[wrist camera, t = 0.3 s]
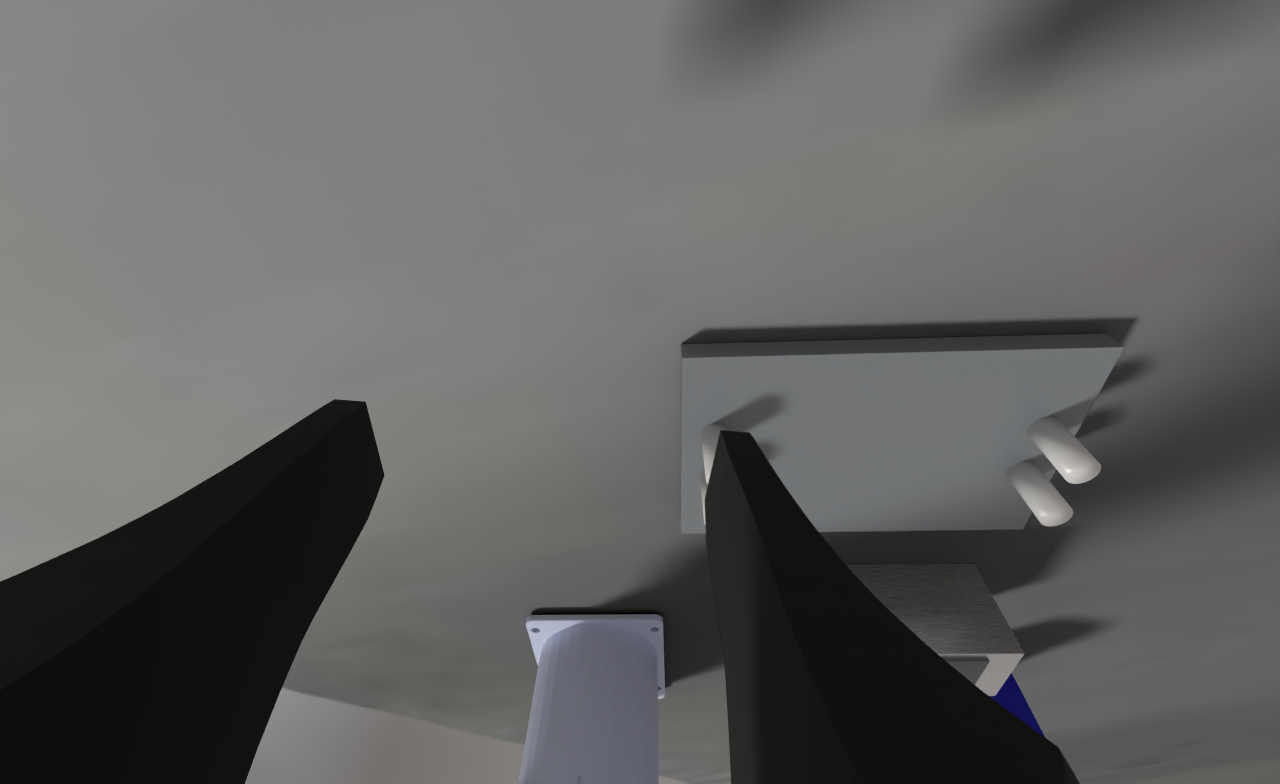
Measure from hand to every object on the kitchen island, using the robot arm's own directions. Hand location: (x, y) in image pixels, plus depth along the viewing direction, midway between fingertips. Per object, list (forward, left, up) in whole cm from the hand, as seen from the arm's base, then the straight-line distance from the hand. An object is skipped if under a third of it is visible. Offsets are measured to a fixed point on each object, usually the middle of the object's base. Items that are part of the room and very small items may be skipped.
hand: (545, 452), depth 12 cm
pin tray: (-8, -11, -10) cm, 17 cm away
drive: (-19, -14, -10) cm, 26 cm away
